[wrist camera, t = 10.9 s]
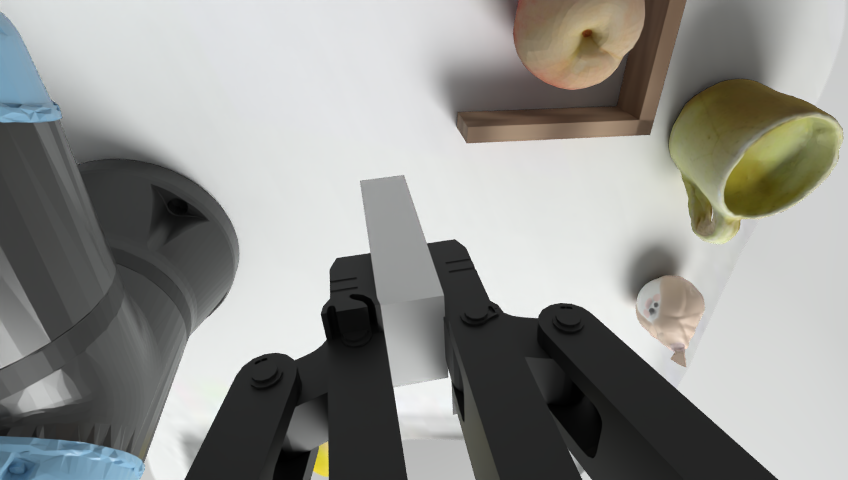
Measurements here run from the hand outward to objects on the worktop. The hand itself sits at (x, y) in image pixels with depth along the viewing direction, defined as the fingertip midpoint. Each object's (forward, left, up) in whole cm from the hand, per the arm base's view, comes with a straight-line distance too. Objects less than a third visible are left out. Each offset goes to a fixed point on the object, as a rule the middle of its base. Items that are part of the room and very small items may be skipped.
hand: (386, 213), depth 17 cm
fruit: (+14, +4, -22) cm, 26 cm away
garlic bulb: (+29, -23, -22) cm, 43 cm away
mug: (+29, -7, -22) cm, 37 cm away
